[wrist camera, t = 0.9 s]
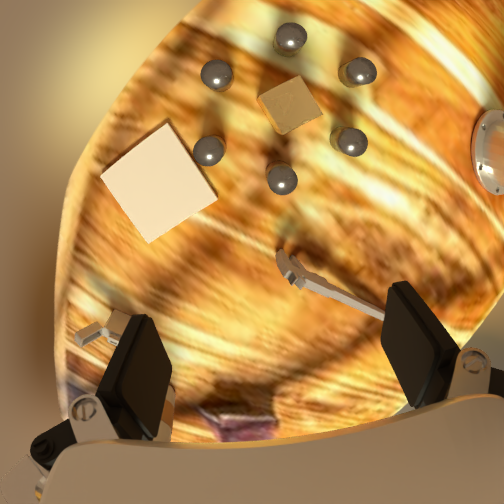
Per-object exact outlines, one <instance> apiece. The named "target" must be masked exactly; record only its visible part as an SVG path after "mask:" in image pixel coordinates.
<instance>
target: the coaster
mask: <svg viewBox="0 0 504 504" xmlns="http://www.w3.org/2000/svg"><path fill="white" fill-rule="evenodd" d="M100 177H101V178H102V180H103V181H104V183H105V184H106V186H107V187H108V189H109V190H110V191H111V193H112V194H113V196H114V197H115V199H116V200H117V202H118V203H119V204H120V206H121V207H122V209H123V210H124V212H125V213H126V214H127V216H128V217H129V219H130V220H131V221H132V223H133V224H134V225H135V227H136V228H137V230H138V231H139V232H140V234H141V235H142V236H143V238H144V239H145V240H146V242H147V243H148V244H149V243H150V242H152V241H153V240H155V239H156V238H158V237H159V236H161V235H162V234H164V233H165V232H167V231H168V230H170V229H171V228H173V227H175V226H176V225H178V224H179V223H181V222H182V221H184V220H186V219H187V218H189V217H190V216H192V215H193V214H195V213H197V212H198V211H200V210H201V209H203V208H205V207H206V206H208V205H210V204H211V203H213V202H214V201H216V200H218V197H217V195H216V194H215V192H214V191H213V189H212V188H211V186H210V185H209V183H208V182H207V180H206V179H205V177H204V176H203V174H202V173H201V171H200V170H199V168H198V167H197V165H196V163H195V162H194V160H193V159H192V157H191V156H190V154H189V153H188V151H187V150H186V148H185V147H184V145H183V144H182V142H181V141H180V139H179V138H178V136H177V135H176V133H175V132H174V130H173V129H172V127H171V126H170V124H169V123H167V124H165V125H164V126H162V127H161V128H160V129H158V130H157V131H156V132H154V133H153V134H151V135H150V136H149V137H147V138H146V139H145V140H144V141H142V142H141V143H140V144H138V145H137V146H136V147H134V148H133V149H132V150H131V151H129V152H128V153H127V154H126V155H124V156H123V157H122V158H121V159H120V160H118V161H117V162H116V163H115V164H114V165H112V166H111V167H110V168H109V169H108V170H107V171H105V172H104V173H103V174H102V175H101V176H100Z"/></svg>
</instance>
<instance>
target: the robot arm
mask: <svg viewBox="0 0 504 504" xmlns="http://www.w3.org/2000/svg"><path fill="white" fill-rule="evenodd" d="M471 154H472V163H473V168H474V171H475V174H476V177H477V179H478V181H479V183H480V184H481V185H482V187H483V188H484V189H486V190H487V191H488V192H490V193H492V194H495V195H502V194H504V111H502V110H497V109H492V110H488V111H486V112H485V113H484V114H483V115H482V116H481V117H480V118H479V120H478V121H477V124H476V126H475V129H474V132H473V137H472V145H471ZM381 345H382V347H383V349H384V351H385V353H386V355H387V357H388V359H389V361H390V364H391V366H392V368H393V370H394V372H395V374H396V376H397V378H398V380H399V383H400V385H401V387H402V389H403V391H404V393H405V396H406V398H407V400H408V402H409V404H410V406H411V407H413V406H414V407H415V410H412V411H409V412H406V413H402V414H399V415H395V416H392V417H388V418H385V419H381V420H377V421H374V422H370V423H366V424H362V425H357V426H353V427H348V428H344V429H339V430H333V431H328V432H323V433H317V434H311V435H304V436H297V437H289V438H281V439H272V440H261V441H247V442H226V443H183V442H159V441H153V438H156V437H157V435H158V431H159V426H160V421H161V417H162V412H163V408H164V403H165V399H166V395H167V390H168V386H169V382H170V378H171V374H172V365H171V362H170V360H169V358H168V355H167V353H166V351H165V348H164V346H163V344H162V341H161V339H160V337H159V334H158V332H157V329H156V327H155V324H154V322H153V320H152V318H151V317H148V316H147V315H146V314H138V315H132V316H131V318H130V320H129V322H128V324H127V326H126V328H125V330H124V332H123V334H122V336H121V338H120V340H119V343H118V345H117V347H116V349H115V351H114V353H113V355H112V358H111V360H110V362H109V364H108V366H107V369H106V371H105V373H104V375H103V378H102V380H101V382H100V385H99V387H98V389H97V392H96V394H95V396H94V395H90V394H88V395H83V396H80V397H78V398H77V399H75V400H74V401H73V402H72V403H71V405H70V407H69V410H68V416H69V419H67V420H65V421H64V422H62V423H60V424H58V425H57V426H55V427H53V428H51V429H50V430H48V431H46V432H44V433H42V434H41V435H39V436H37V437H36V438H35V439H34V441H33V442H32V444H31V449H30V453H31V455H30V456H28V455H25V456H24V457H23V458H22V459H21V460H20V461H19V462H18V463H17V464H16V465H15V466H14V467H13V468H12V469H11V470H10V471H9V472H8V473H7V474H6V475H5V476H4V477H3V478H2V480H1V482H0V491H1V493H2V495H3V497H4V499H5V500H6V502H7V503H8V504H504V371H502V370H499V369H496V368H492V367H491V361H490V359H489V356H488V355H487V354H486V353H485V352H483V351H482V350H480V349H477V348H472V347H470V348H465V349H463V350H462V351H461V350H460V349H459V347H458V346H457V344H456V343H455V341H454V340H453V339H452V337H451V336H450V335H449V333H448V332H447V330H446V329H445V328H444V326H443V325H442V324H441V322H440V321H439V320H438V319H437V317H436V316H435V315H434V313H433V312H432V311H431V309H430V308H429V307H428V306H427V304H426V303H425V302H424V301H423V299H422V298H421V297H420V296H419V294H418V293H417V292H416V291H415V290H414V288H413V287H412V286H411V285H410V283H409V282H408V281H400V282H395V283H393V284H392V287H389V289H388V295H387V302H386V309H385V315H384V321H383V327H382V333H381Z"/></svg>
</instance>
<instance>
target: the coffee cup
mask: <svg viewBox="0 0 504 504" xmlns="http://www.w3.org/2000/svg"><path fill="white" fill-rule="evenodd" d="M174 403H175V392H174V389H173V388H172V386H170V385H169V386H168V390H167V395H166V399H165V403H164V408H163V412H162V417H161V421H160V426H159V431H158V435H157V437H156V438H153V441H159V442H170V440H171V434H172V426H173V416H174Z"/></svg>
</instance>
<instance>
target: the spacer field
mask: <svg viewBox="0 0 504 504" xmlns="http://www.w3.org/2000/svg"><path fill="white" fill-rule="evenodd" d="M306 40H307V33H306V31H305V29H304V28H303V27H302V26H301V25H299V24H296V23H285V24H283V25H281V26H280V27H279V28H278V31H277V33H276V36H275V39H274V42H273V47H274V49H275V51H276V52H277V53H278V54H280V55H282V56H285V57H290V56H293V55H295V54H297V53H298V51H299V50H300V49H301V47H302V46H303V45H304V44H305V42H306ZM376 76H377V70H376V67H375V65H374V64H373V63H372V62H371V61H370V60H368V59H366V58H362V57H360V58H356V59H354V60H352V61H350V62H348V63H346V64H344V65H342V66H341V67H340V69H339V71H338V77H339V79H340V81H341V82H342V83H343V84H344V85H345V86H347V87H357V86H361V85H365V84H369V83H372V82H373V81H374V80H375V79H376ZM201 79H202V81H203V83H204V84H205V85H206V86H208V87H209V88H210V89H211V90H213V91H215V92H223V91H226V90H228V89H229V88H230V87H231V86H232V84H233V74H232V71H231V68H230V66H229V65H228V64H227V63H226V62H224V61H222V60H212V61H209V62H208V63H206V64H205V65H204V66H203V68H202V70H201ZM330 143H331V145H332V147H333V148H334V149H335V150H337V151H339V152H342V153H344V154H347V155H349V156H353V157H357V156H360V155H362V154H363V153H364V152H365V151H366V149H367V146H368V140H367V137H366V135H365V134H364V133H363V132H362V131H361V130H359V129H355V128H346V127H338V128H336V129H334V130H333V131H332V133H331V135H330ZM225 152H226V143H225V141H224V140H223V139H222V138H221V137H220V136H217V135H209V136H207V137H204V138H202V139H200V140H198V141H197V143H196V144H195V146H194V149H193V155H194V158H195V160H196V161H197V162H198V163H199V164H201V165H203V166H213V165H215V164H217V163H218V162H219V161H220V160H221V158H222V157H223V156H224V154H225ZM266 178H267V181H268V184H269V187H270V189H271V190H272V191H273V192H274V193H276V194H279V195H287V194H289V193H291V192H292V191H294V189H295V188H296V186H297V182H298V179H297V175H296V173H295V172H294V171H293V170H292V168H291V167H290V166H289V165H288V164H287V163H285V162H283V161H274V162H272V163H270V164H269V165H268V167H267V169H266Z"/></svg>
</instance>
